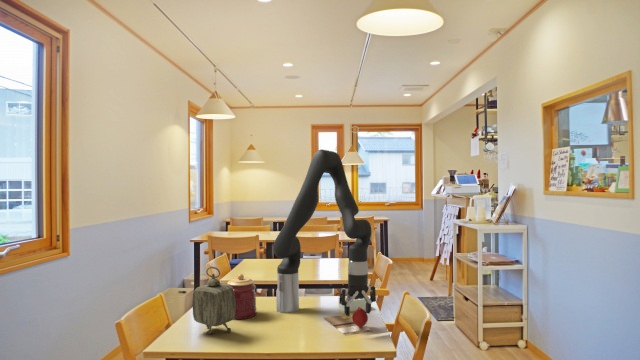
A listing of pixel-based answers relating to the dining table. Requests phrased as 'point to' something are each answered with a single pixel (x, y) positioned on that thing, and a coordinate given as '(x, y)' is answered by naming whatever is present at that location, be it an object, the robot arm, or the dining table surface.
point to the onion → (360, 317)
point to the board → (346, 325)
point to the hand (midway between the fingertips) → (357, 314)
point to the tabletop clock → (214, 303)
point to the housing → (354, 304)
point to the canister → (244, 297)
